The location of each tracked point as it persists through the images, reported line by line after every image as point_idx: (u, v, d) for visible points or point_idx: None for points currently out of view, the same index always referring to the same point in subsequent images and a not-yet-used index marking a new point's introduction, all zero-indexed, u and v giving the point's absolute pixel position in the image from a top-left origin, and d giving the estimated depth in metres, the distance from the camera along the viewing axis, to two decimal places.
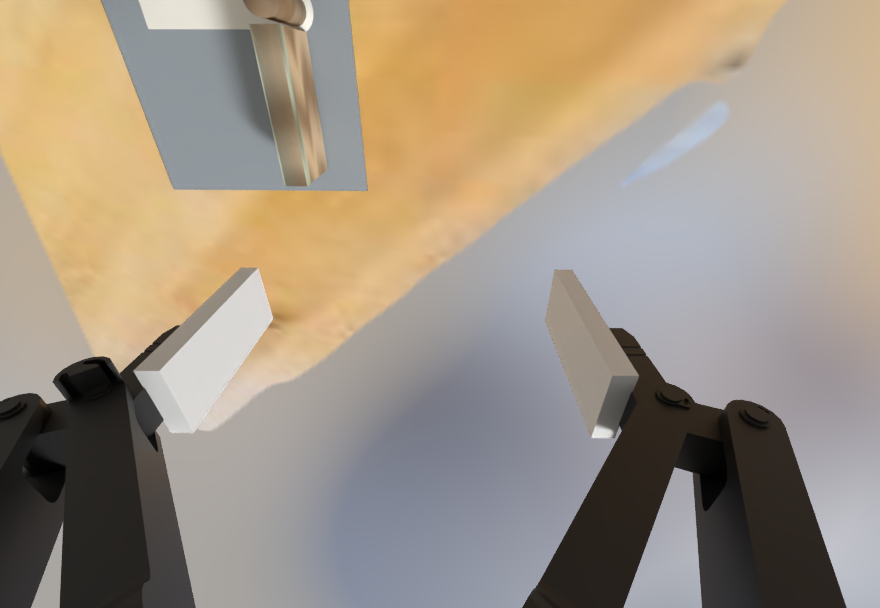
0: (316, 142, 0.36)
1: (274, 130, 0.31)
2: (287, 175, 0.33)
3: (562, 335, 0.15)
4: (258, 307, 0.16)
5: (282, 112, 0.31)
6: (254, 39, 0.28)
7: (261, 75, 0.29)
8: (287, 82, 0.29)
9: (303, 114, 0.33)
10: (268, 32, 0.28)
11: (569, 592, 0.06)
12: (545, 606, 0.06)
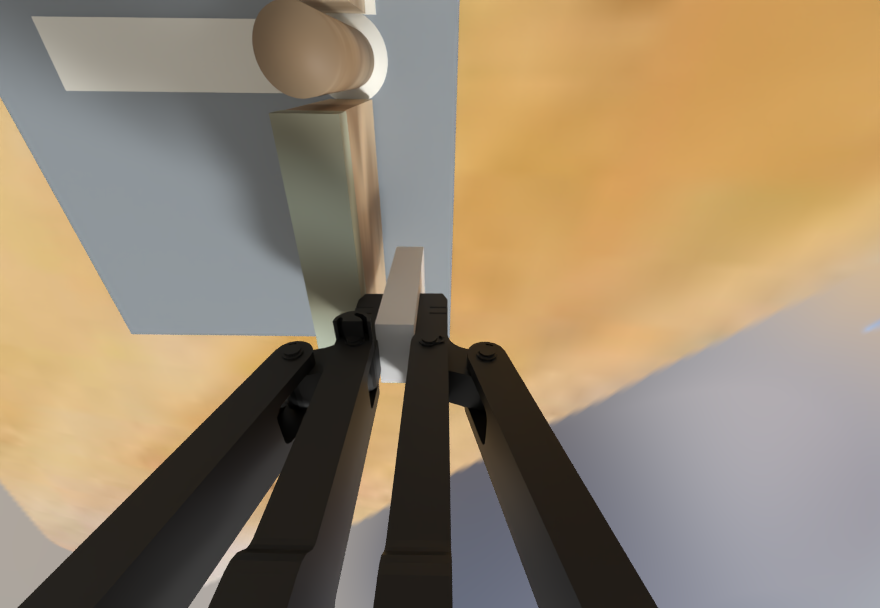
0: (379, 286, 0.20)
1: (314, 308, 0.15)
2: None
3: None
4: None
5: (333, 279, 0.15)
6: (280, 146, 0.12)
7: (292, 213, 0.13)
8: (349, 228, 0.13)
9: (367, 262, 0.17)
10: (315, 132, 0.12)
11: (410, 534, 0.07)
12: (395, 559, 0.06)
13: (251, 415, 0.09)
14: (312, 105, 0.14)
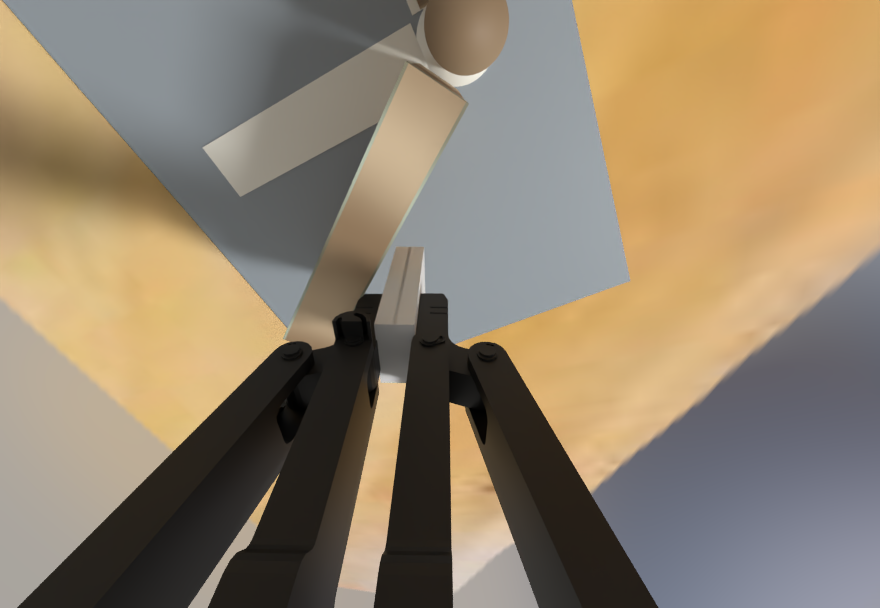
0: None
1: (323, 258, 0.14)
2: (300, 329, 0.16)
3: None
4: None
5: (362, 242, 0.14)
6: (395, 97, 0.11)
7: (361, 161, 0.12)
8: (408, 205, 0.13)
9: None
10: (437, 105, 0.11)
11: (411, 534, 0.07)
12: (395, 559, 0.06)
13: (250, 415, 0.09)
14: (423, 69, 0.13)
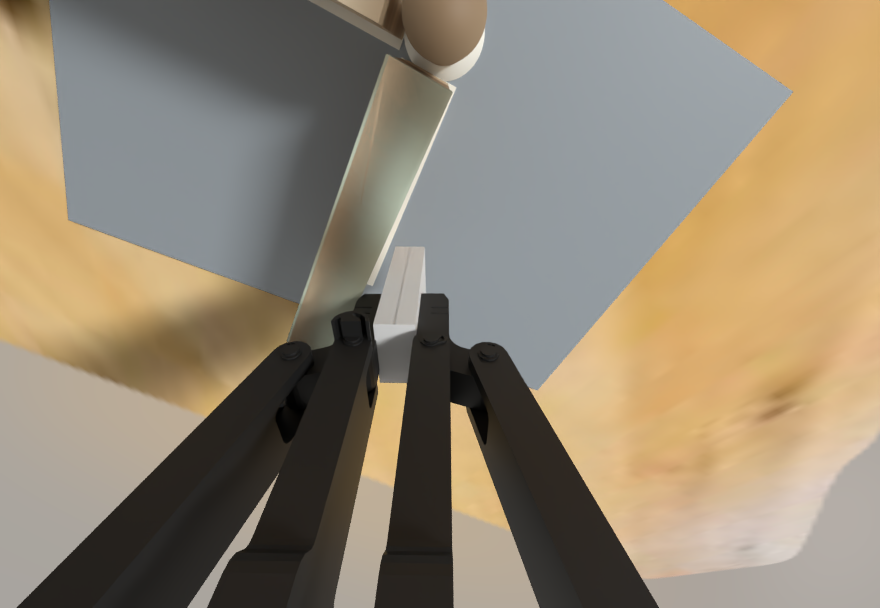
0: None
1: (320, 258, 0.14)
2: (302, 330, 0.16)
3: None
4: None
5: (356, 239, 0.14)
6: (378, 90, 0.11)
7: (350, 158, 0.12)
8: (400, 200, 0.13)
9: None
10: (421, 96, 0.11)
11: (411, 534, 0.07)
12: (396, 559, 0.06)
13: (249, 415, 0.09)
14: (409, 63, 0.13)
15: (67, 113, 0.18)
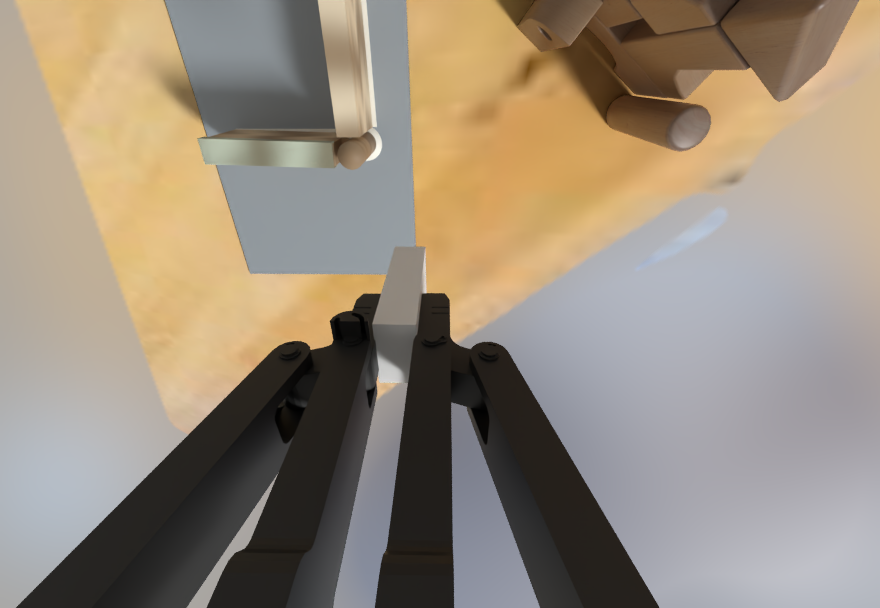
0: None
1: (250, 142, 0.33)
2: (209, 144, 0.33)
3: None
4: None
5: (268, 154, 0.33)
6: (320, 144, 0.33)
7: (295, 141, 0.33)
8: (293, 165, 0.34)
9: None
10: (327, 158, 0.34)
11: (412, 534, 0.07)
12: (397, 559, 0.06)
13: (249, 415, 0.09)
14: (340, 142, 0.36)
15: None
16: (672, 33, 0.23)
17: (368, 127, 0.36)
